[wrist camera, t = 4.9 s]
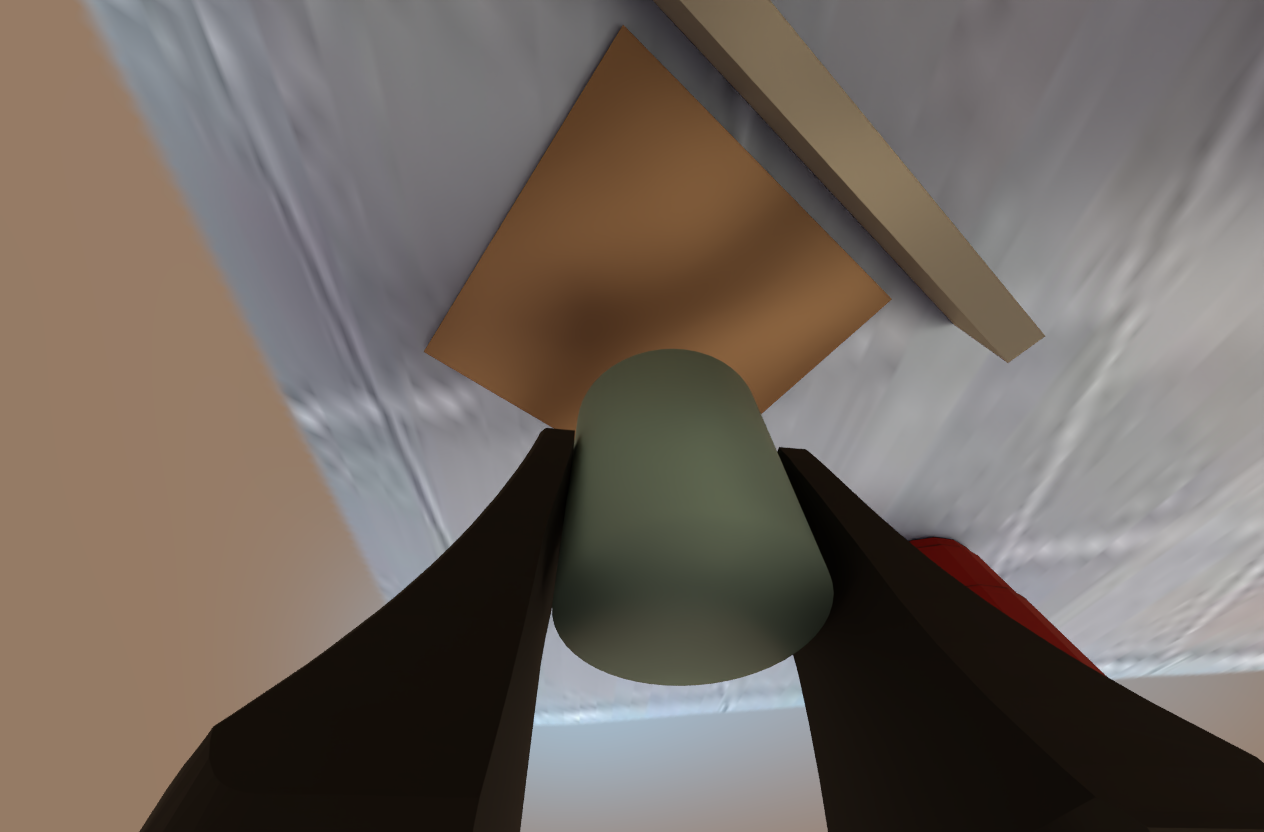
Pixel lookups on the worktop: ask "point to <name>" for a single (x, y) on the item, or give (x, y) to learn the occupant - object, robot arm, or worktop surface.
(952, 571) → the plastic cup
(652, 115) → the walnut board
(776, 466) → the sage green cylinder
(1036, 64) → the worktop surface
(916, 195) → the taupe wall
